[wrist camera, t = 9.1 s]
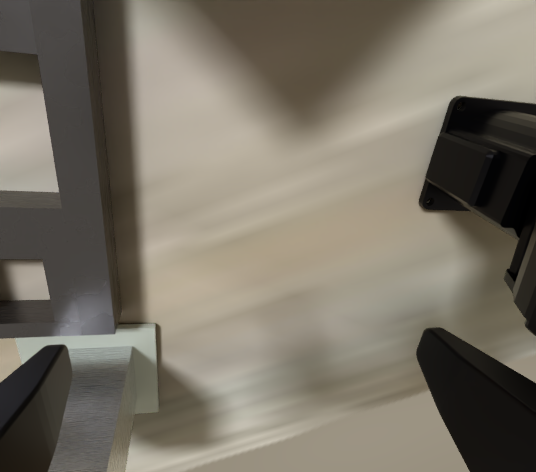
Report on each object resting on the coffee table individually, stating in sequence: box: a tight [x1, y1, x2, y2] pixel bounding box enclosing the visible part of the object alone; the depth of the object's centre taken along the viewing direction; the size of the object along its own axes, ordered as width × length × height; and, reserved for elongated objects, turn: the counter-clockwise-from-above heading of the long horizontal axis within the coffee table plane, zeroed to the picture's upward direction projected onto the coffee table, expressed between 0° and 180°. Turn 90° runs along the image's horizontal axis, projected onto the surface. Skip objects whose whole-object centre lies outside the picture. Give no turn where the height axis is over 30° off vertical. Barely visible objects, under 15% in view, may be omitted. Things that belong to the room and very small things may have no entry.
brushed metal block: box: [48, 346, 137, 472], centre depth 21 cm, size 5×5×8 cm
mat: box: [15, 323, 159, 414], centre depth 24 cm, size 8×8×1 cm
